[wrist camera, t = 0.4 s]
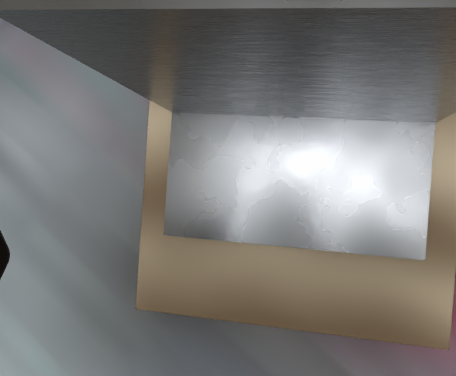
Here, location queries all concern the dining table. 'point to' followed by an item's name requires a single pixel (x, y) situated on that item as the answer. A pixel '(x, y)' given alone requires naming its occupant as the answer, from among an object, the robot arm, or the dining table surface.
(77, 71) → the dining table surface
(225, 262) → the book shelf
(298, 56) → the bookend
